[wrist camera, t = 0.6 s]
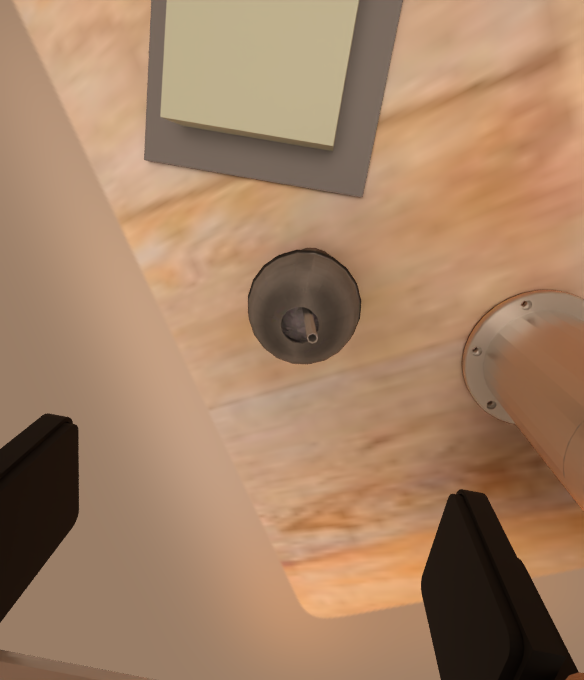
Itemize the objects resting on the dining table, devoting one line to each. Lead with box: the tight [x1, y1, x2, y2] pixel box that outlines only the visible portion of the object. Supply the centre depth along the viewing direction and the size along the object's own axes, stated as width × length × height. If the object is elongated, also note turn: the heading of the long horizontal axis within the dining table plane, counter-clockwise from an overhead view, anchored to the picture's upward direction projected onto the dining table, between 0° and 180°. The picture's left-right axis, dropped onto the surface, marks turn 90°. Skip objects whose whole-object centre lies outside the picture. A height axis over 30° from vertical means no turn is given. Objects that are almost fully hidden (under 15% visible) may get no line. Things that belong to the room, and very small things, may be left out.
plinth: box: [144, 0, 403, 197], centre depth 31 cm, size 18×18×6 cm
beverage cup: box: [248, 248, 361, 364], centre depth 30 cm, size 7×7×20 cm
